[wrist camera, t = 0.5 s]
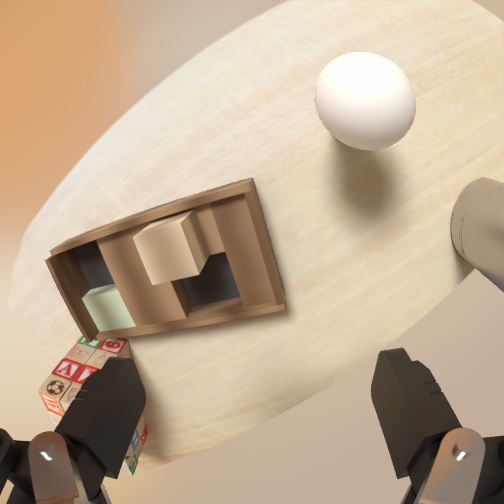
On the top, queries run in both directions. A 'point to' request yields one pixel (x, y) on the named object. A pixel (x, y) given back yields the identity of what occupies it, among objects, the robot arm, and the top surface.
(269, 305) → the board
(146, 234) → the beech block
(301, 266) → the top surface
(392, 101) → the lightbulb
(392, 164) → the top surface
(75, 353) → the stack of blocks
